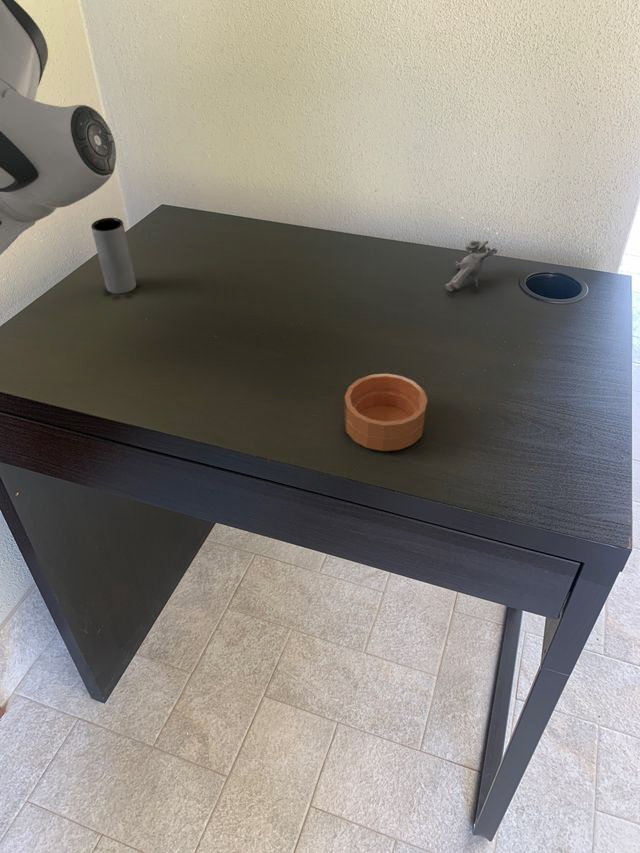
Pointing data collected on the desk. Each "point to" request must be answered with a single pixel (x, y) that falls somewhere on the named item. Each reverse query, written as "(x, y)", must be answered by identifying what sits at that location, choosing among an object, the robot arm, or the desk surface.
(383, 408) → the bowl
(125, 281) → the tall grey cup
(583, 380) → the desk surface
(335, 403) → the desk surface
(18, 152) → the robot arm
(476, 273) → the grey figurine
